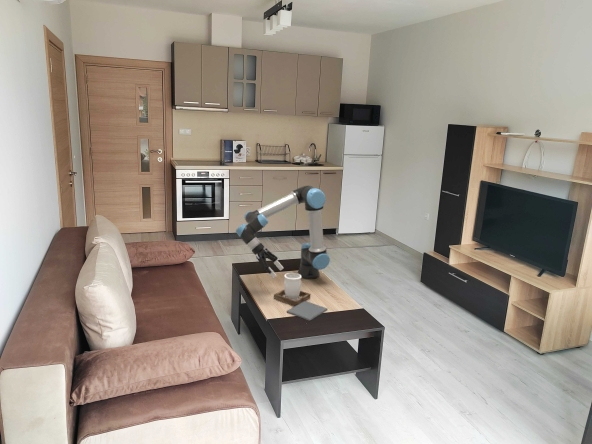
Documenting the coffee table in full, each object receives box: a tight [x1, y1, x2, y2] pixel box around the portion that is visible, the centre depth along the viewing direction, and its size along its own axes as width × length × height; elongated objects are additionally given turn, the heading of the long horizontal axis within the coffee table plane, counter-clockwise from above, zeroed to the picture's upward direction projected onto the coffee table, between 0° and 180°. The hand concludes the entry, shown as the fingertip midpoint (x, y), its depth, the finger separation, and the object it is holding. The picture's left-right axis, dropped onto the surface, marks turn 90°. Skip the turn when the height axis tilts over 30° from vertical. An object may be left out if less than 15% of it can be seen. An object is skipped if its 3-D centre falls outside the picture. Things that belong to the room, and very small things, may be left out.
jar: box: [283, 272, 302, 301], centre depth 275 cm, size 11×10×15 cm
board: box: [286, 300, 328, 322], centre depth 261 cm, size 18×16×1 cm
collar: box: [273, 288, 311, 307], centre depth 277 cm, size 15×16×3 cm
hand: (278, 273), depth 275 cm, fingers open, 13 cm apart
